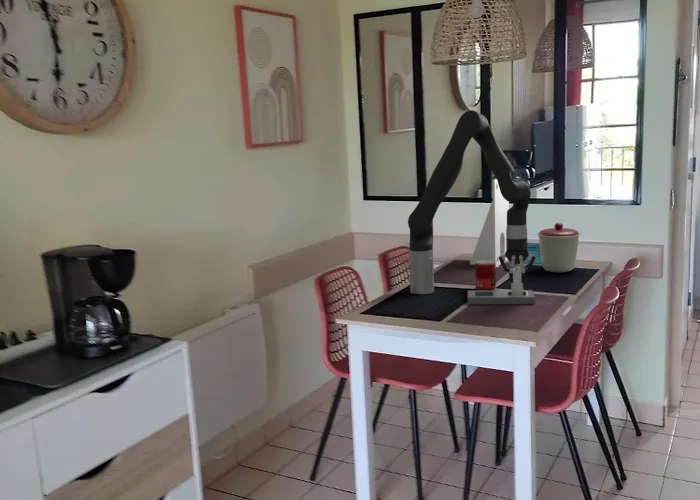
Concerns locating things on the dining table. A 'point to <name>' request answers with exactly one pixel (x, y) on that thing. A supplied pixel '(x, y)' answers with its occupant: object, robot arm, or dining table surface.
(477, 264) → the canned food
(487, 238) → the white bracket plate
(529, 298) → the panel
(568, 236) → the canister
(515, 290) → the plug
